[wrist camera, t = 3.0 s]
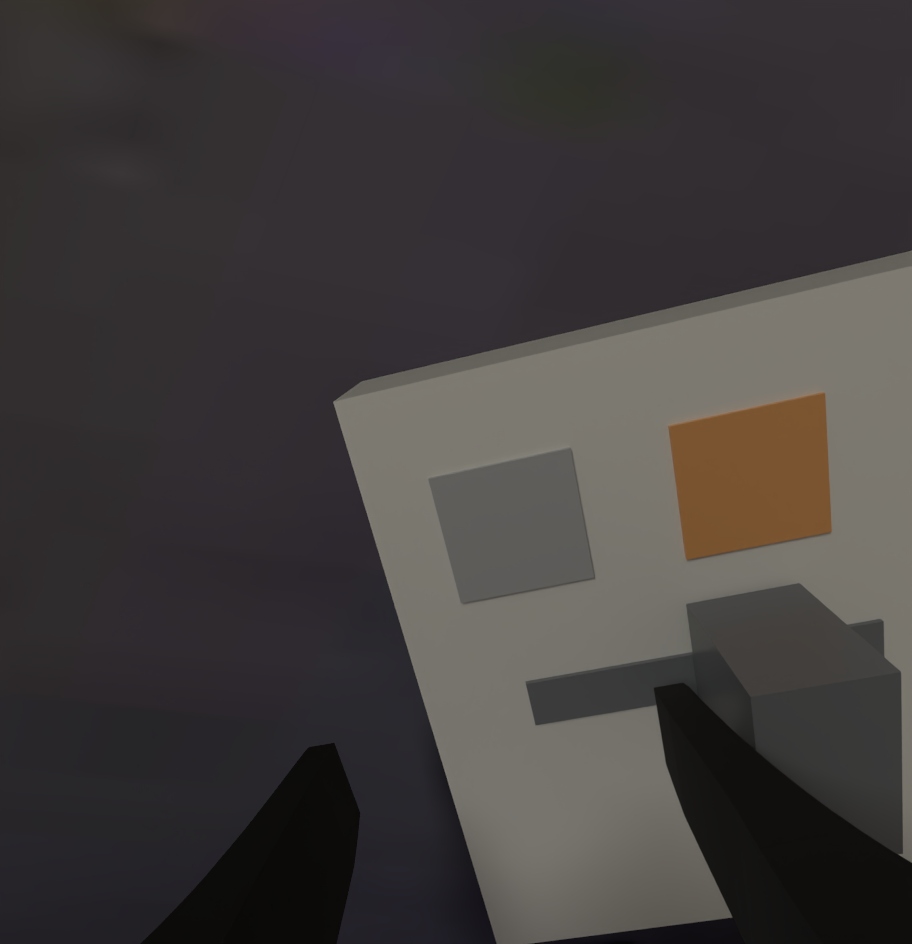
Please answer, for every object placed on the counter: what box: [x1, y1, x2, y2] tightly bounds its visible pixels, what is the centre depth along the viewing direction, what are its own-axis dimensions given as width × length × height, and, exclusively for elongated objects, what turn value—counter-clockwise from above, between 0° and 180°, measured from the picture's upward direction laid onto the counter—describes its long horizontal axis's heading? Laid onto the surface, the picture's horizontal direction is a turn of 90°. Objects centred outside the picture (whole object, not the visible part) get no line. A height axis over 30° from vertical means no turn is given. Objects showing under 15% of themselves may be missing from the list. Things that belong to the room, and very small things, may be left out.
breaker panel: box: [333, 251, 912, 944], centre depth 14 cm, size 16×14×3 cm
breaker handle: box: [686, 583, 903, 854], centre depth 11 cm, size 4×2×3 cm, turn 13°
